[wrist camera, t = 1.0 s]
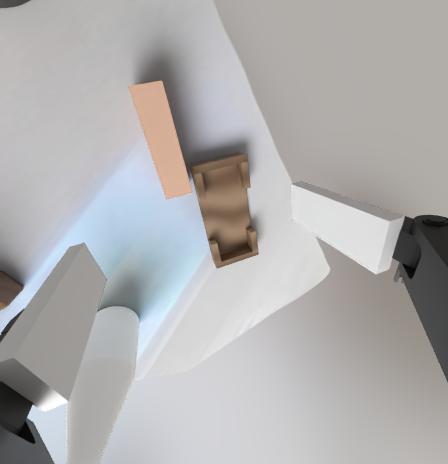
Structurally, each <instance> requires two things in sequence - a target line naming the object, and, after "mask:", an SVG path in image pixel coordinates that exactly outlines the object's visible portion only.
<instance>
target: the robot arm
mask: <svg viewBox="0 0 448 464" xmlns="http://www.w3.org/2000/svg"><path fill="white" fill-rule="evenodd" d="M28 1H30V0H0V8H8V7H15V6H19V5H22V4H24V3H26V2H28ZM291 202H292V221H294V222H295V223H297V224H299V225H300V226H302V227H303V228H305V229H306V230H308V231H309V232H311V233H313V234H314V235H316V236H317V237H319V238H320V239H322V240H324V241H325V242H327V243H328V244H330V245H331V246H333V247H334V248H336V249H338V250H339V251H341V252H342V253H344V254H345V255H347V256H349V257H350V258H352V259H353V260H355V261H356V262H358V263H359V264H361V265H362V266H364V267H365V268H367V269H369V270H370V271H372V272H373V273H375V274H378V273H380V272H383V271H386V270H388V269H389V268H390V264H391V261H392V258H394V259H396V260H397V261H399V265H398V268H397V271H396V274H395V277H394V282H397V281H398V278H399V277H402V283H404V284H405V286H406V288H407V290H408V293H409V295H410V297H411V299H412V302H413V304H414V306H415V308H416V311H417V313H418V315H419V318H420V320H421V322H422V324H423V327H424V329H425V331H426V334H427V336H428V338H429V340H430V343H431V345H432V347H433V349H434V352H435V354H436V356H437V359H438V361H439V363H440V365H441V368H442V370H443V372H444V375H445V377H446V379H447V381H448V218H446V217H442V216H436V215H421V216H417V217H415V218H414V219H412V218H409V217H406V216H403V215H400V214H397V213H394V212H391V211H388V210H385V209H382V208H379V207H376V206H373V205H370V204H367V203H364V202H361V201H358V200H355V199H352V198H349V197H346V196H343V195H341V194H338V193H335V192H332V191H329V190H326V189H323V188H320V187H316V186H314V185H311V184H308V183H305V182H302V181H300V182H297V183H293V184H291ZM106 281H107V279H106V277H105V275H104V274H103V272H102V270H101V269H100V267H99V266H98V264H97V262H96V261H95V259H94V258H93V256H92V254H91V253H90V251H89V249H88V248H87V246H86V245H85V243H82V244H79V245H75V246H72V247H69V249H68V250H67V251H66V253H65V254H64V256H63V257H62V258H61V260H60V261H59V262H58V264H57V265H56V267H55V268H54V269H53V271H52V272H51V273H50V275H49V276H48V278H47V279H46V280H45V282H44V283H43V284H42V286H41V287H40V289H39V290H38V291H37V293H36V294H35V296H34V297H33V298H32V300H31V301H30V302H29V304H28V305H27V307H26V308H25V309H23V310H22V311H21V312H20V313H18V314H17V315H16V316H15V317H14V318H13V319H12V320H11V321H10V322H9V323H8V324H7V326H6V327H5V328H4V330H3V331H2V332H1V335H0V464H54V462H53V460H52V458H51V456H50V454H49V452H48V450H47V448H46V446H45V444H44V443H43V440H42V438H41V437H40V434H39V433H38V431H37V429H36V427H35V425H34V423H33V422H32V421H30V420H29V419H28V418H27V416H28V414H29V411H30V409H31V407H32V405H35V406H36V407H37V408H39V409H40V410H42V411H43V412H45V411H48V410H50V409H53V408H55V407H57V406H60V405H62V404H65V403H67V402H69V399H70V396H71V393H72V390H73V387H74V383H75V380H76V377H77V374H78V371H79V367H80V364H81V361H82V358H83V355H84V352H85V348H86V345H87V342H88V339H89V336H90V332H91V329H92V326H93V323H94V320H95V316H96V313H97V310H98V307H99V304H100V301H101V297H102V294H103V291H104V288H105V285H106Z"/></svg>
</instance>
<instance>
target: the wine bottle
mask: <svg viewBox="0 0 448 464" xmlns="http://www.w3.org/2000/svg"><path fill="white" fill-rule="evenodd" d="M138 334H139V319H138V316H137V314H136V313H135V312H134V311H133V310H131V309H129V308H127V307H122V306H112V307H107V308H105V309H102V310H100V311H98V312H97V313H96V316H95V320H94V323H93V326H92V329H91V332H90V336H89V339H88V342H87V345H86V348H85V352H84V355H83V358H82V361H81V364H80V367H79V371H78V374H77V377H76V380H75V383H74V387H73V390H72V393H71V396H70V399H69V402H67V403H66V420H67V421H66V426H67V427H66V464H100V462H101V459H102V456H103V453H104V450H105V448H106V445H107V442H108V440H109V438H110V435H111V433H112V431H113V428H114V426H115V423H116V421H117V419H118V416H119V414H120V411H121V409H122V406H123V404H124V402H125V399H126V397H127V394H128V393H129V390H130V388H131V385H132V382H133V379H134V375H135V368H136V356H137V345H138Z"/></svg>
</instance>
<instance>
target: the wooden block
mask: <svg viewBox="0 0 448 464" xmlns="http://www.w3.org/2000/svg"><path fill="white" fill-rule="evenodd" d="M22 290H23V286H21V285H20V284H19V283H17V282H16V281H14V280H13V279H12V278H10V277H9V276H7V275H6V274H5V273H3V272H1V271H0V311H1V310H2V309H4V308H5V307H7V306H8V305H9V304H10V303H11V302H12V301H13V300H14V299H15V298H16V296H17V295H18V294H19V293H20V292H21V291H22Z"/></svg>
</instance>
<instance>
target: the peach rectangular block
mask: <svg viewBox="0 0 448 464" xmlns="http://www.w3.org/2000/svg"><path fill="white" fill-rule="evenodd" d="M128 88H129V90H130V93H131V96H132V99H133V102H134V105H135V108H136V111H137V114H138V117H139V120H140V123H141V126H142V129H143V132H144V135H145V138H146V141H147V144H148V147H149V150H150V153H151V156H152V158H153V161H154V164H155V167H156V170H157V173H158V176H159V179H160V182H161V185H162V188H163V191H164V194H165V197H166V199H170V198H173V197H177V196H181V195H185V194H188V193H192V189H191V185H190V182H189V178H188V174H187V171H186V167H185V163H184V160H183V156H182V152H181V148H180V145H179V141H178V137H177V134H176V130H175V126H174V123H173V119H172V115H171V111H170V108H169V104H168V100H167V97H166V93H165V89H164V86H163V82H162V81H156V82H150V83H144V84H138V85H131V86H128Z"/></svg>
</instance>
